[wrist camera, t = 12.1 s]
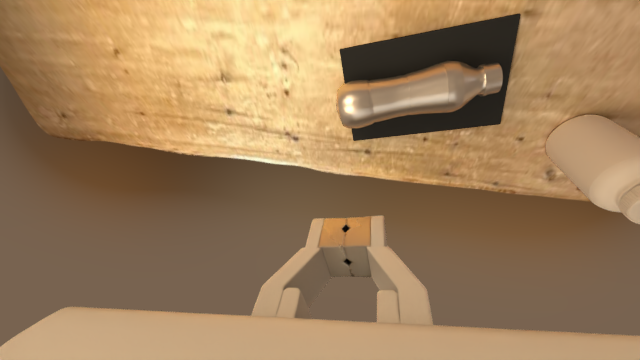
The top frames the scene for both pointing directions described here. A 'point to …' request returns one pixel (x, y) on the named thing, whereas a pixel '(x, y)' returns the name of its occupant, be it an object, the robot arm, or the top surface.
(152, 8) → the top surface
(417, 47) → the mat
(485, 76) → the plastic bottle
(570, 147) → the pill bottle
